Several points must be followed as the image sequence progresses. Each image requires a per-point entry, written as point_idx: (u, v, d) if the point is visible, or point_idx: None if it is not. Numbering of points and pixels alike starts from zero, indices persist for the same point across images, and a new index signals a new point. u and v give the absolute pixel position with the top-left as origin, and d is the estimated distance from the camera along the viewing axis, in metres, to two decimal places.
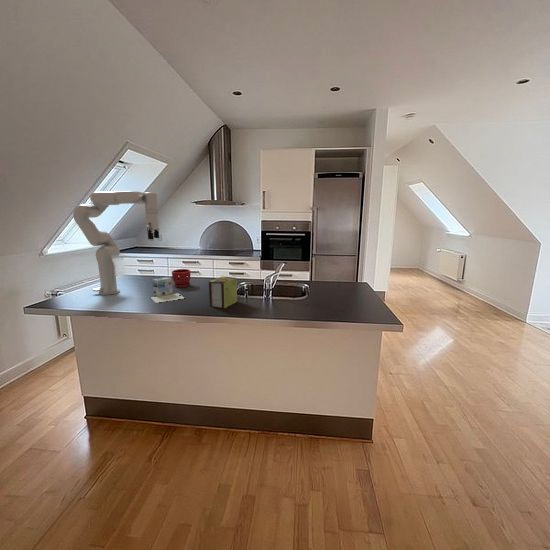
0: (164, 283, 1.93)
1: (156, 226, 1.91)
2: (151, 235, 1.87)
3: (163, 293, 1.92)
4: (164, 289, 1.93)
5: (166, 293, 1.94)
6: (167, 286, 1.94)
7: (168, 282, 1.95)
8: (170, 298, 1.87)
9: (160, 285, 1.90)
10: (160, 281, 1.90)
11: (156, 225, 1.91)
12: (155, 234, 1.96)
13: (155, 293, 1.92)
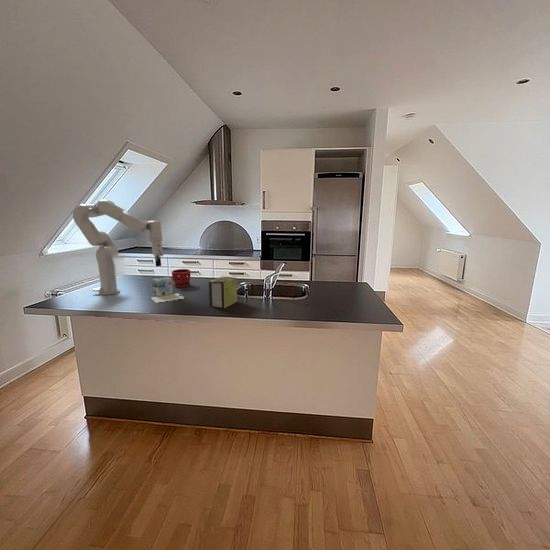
0: (165, 283, 1.93)
1: (153, 253, 1.97)
2: None
3: (163, 293, 1.92)
4: (164, 289, 1.93)
5: (166, 293, 1.94)
6: (167, 286, 1.94)
7: (168, 282, 1.95)
8: (170, 298, 1.87)
9: (160, 285, 1.90)
10: (160, 281, 1.90)
11: (153, 252, 1.97)
12: None
13: (155, 293, 1.92)
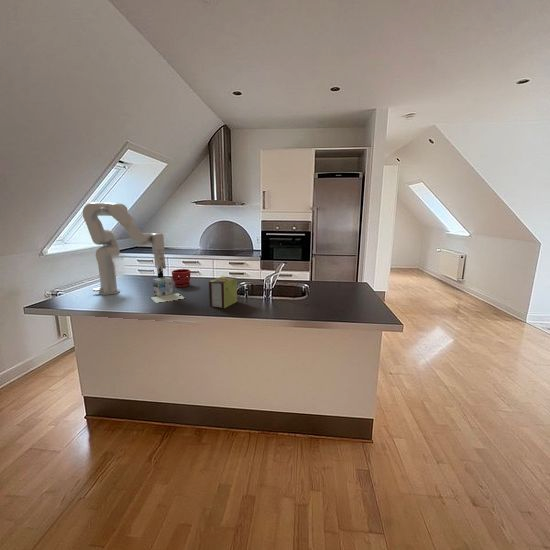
0: (165, 283, 1.93)
1: (156, 266, 1.95)
2: None
3: (163, 293, 1.92)
4: (164, 289, 1.93)
5: (166, 293, 1.94)
6: (167, 286, 1.94)
7: (169, 282, 1.95)
8: (170, 298, 1.87)
9: (160, 285, 1.90)
10: (161, 281, 1.90)
11: (156, 265, 1.95)
12: None
13: (155, 293, 1.92)
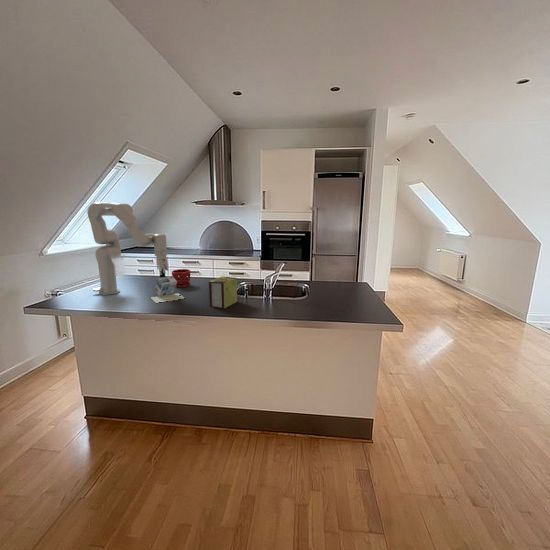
0: (169, 286, 1.90)
1: (158, 267, 1.91)
2: None
3: (164, 294, 1.92)
4: (166, 291, 1.91)
5: (167, 293, 1.94)
6: (170, 288, 1.93)
7: (172, 285, 1.92)
8: (170, 298, 1.87)
9: (164, 288, 1.88)
10: (165, 285, 1.87)
11: (158, 266, 1.91)
12: None
13: (156, 291, 1.91)
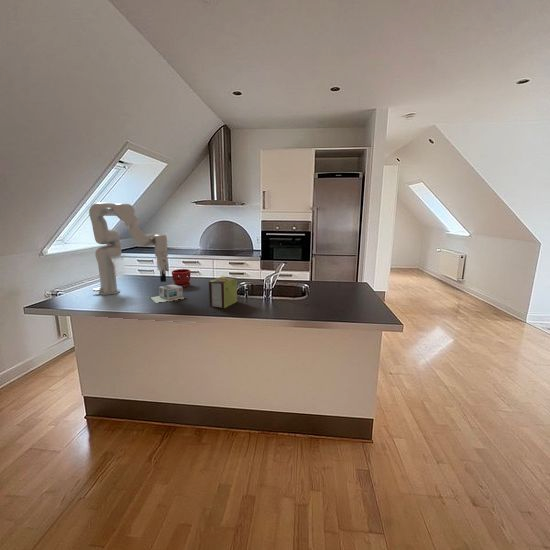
0: None
1: (158, 268, 1.89)
2: None
3: None
4: None
5: None
6: None
7: None
8: None
9: None
10: None
11: (158, 267, 1.89)
12: None
13: (160, 291, 1.88)
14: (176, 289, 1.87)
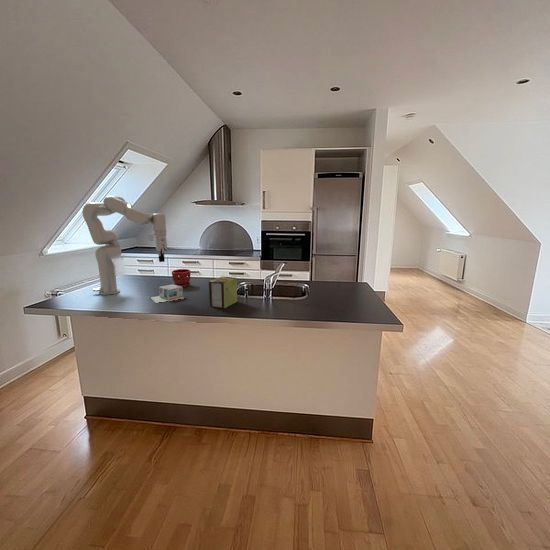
0: None
1: (157, 247, 1.87)
2: None
3: None
4: None
5: None
6: None
7: None
8: None
9: None
10: None
11: (157, 247, 1.86)
12: None
13: (160, 291, 1.88)
14: (176, 289, 1.87)
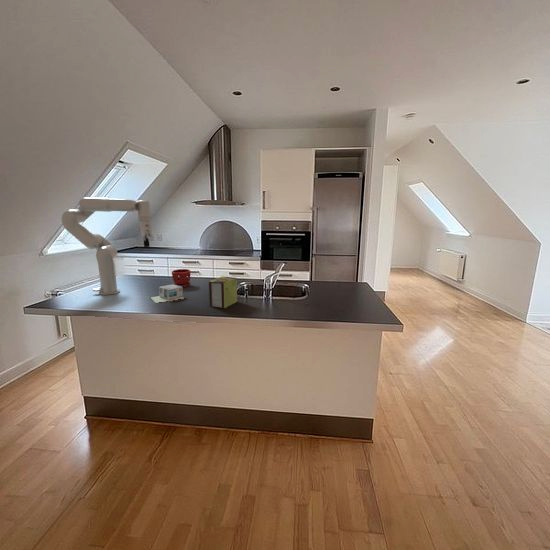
0: None
1: (142, 233, 1.95)
2: None
3: None
4: None
5: None
6: None
7: None
8: None
9: None
10: None
11: (142, 232, 1.95)
12: None
13: (160, 291, 1.88)
14: (176, 289, 1.87)
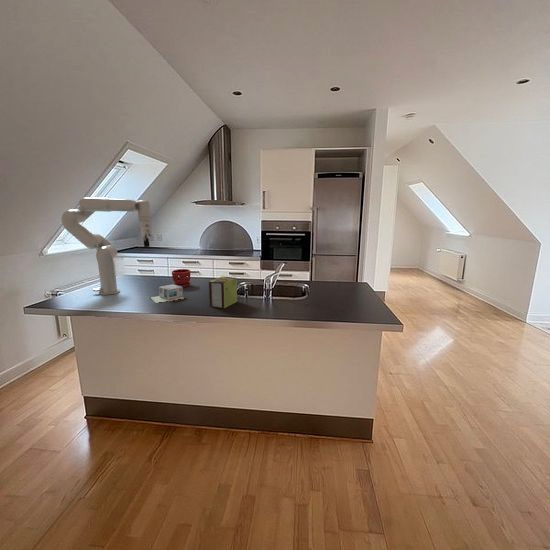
0: None
1: (142, 233, 1.95)
2: None
3: None
4: None
5: None
6: None
7: None
8: None
9: None
10: None
11: (142, 232, 1.95)
12: None
13: (160, 291, 1.88)
14: (176, 289, 1.87)
